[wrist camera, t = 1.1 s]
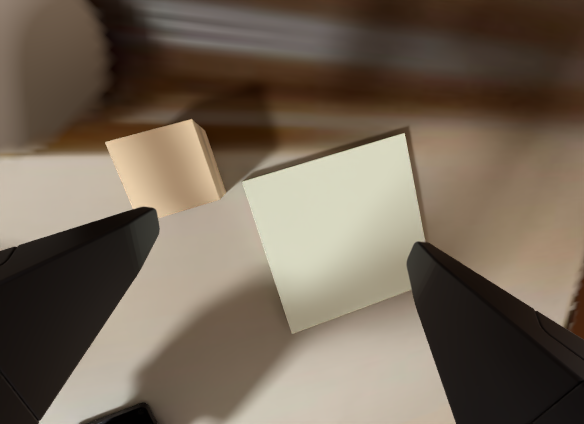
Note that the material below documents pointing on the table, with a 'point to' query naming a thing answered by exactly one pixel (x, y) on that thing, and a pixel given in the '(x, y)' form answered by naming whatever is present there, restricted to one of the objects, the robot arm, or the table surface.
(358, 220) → the sage board
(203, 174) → the maple cube
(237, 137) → the table surface
